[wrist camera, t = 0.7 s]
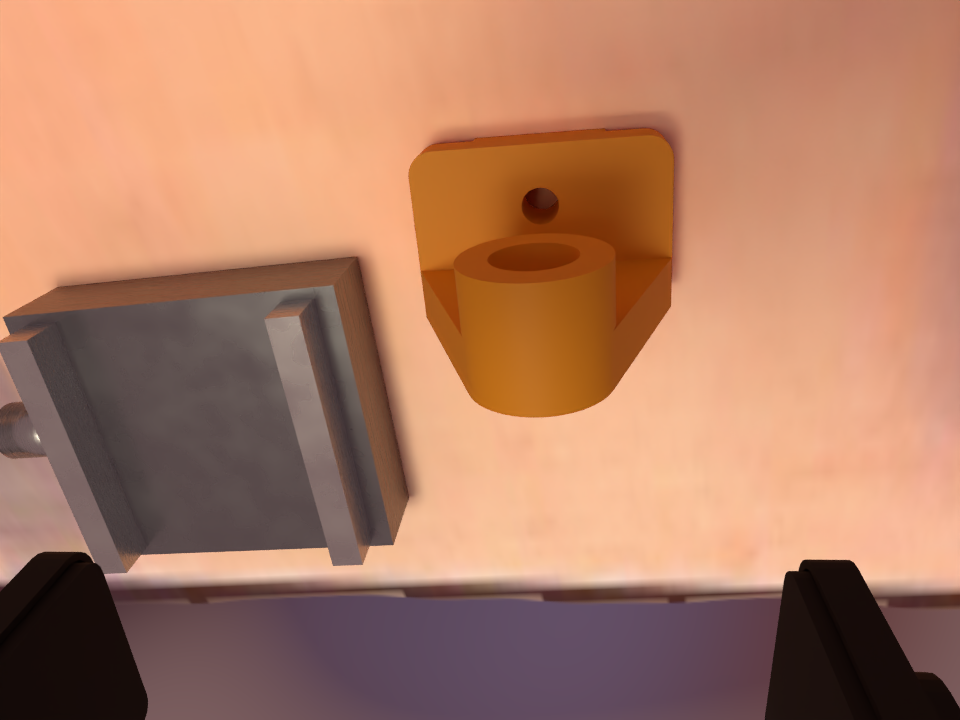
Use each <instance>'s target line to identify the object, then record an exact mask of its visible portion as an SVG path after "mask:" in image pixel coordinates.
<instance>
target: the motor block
mask: <svg viewBox="0 0 960 720" xmlns="http://www.w3.org/2000/svg"><path fill="white" fill-rule="evenodd" d="M3 319H4V321H5V323H6V326H7V328H8V330H9V333H10V335H9V336H7V337H6V338H4V339H2V340H1V341H0V353H1V355H2V357H3V359H4V362H5V364H6V366H7V368H8V371H9V373H10V375H11V377H12V379H13V382H14V384H15V386H16V388H17V391H18V393H19V395H20V397H21V399H22V402H12V403H9V404H6V405H5V406H3V407H2V408H1V409H0V452H1V453H2V454H3V455H4V456H6V457H8V458H12V459H18V458H34V457H48V459H49V462H50V464H51V466H52V468H53V470H54V473H55V475H56V477H57V479H58V482H59V484H60V486H61V488H62V490H63V493H64V495H65V497H66V499H67V502H68V504H69V506H70V508H71V510H72V513H73V515H74V517H75V519H76V521H77V524H78V526H79V528H80V530H81V533H82V535H83V537H84V539H85V541H86V544H87V546H88V548H89V550H90V553H91V555H92V557H93V559H94V561H95V563H97V564H98V565H99V566H100V567H101V569H102V571H103V573H104V574H110V573H127V572H128V571H129V569H130V568H131V567H132V566H133V564H134V563H135V562H136V560H137V559H138V558H139V557H140V555H147V554H173V553H199V552H225V551H251V550H276V549H302V548H328V550H329V553H330V557H331V560H332V564H333V566H340V565H363V562H364V560H365V557H366V554H367V552H368V549H369V546H380V545H394V542H395V539H396V536H397V532H398V529H399V526H400V523H401V520H402V517H403V514H404V511H405V508H406V505H407V502H408V498H409V497H408V492H407V487H406V483H405V478H404V473H403V469H402V464H401V459H400V455H399V450H398V445H397V441H396V436H395V431H394V427H393V422H392V417H391V413H390V408H389V403H388V398H387V394H386V389H385V384H384V380H383V375H382V370H381V366H380V361H379V356H378V352H377V347H376V342H375V338H374V333H373V328H372V324H371V319H370V314H369V310H368V305H367V300H366V296H365V291H364V286H363V282H362V277H361V272H360V268H359V263H358V258H357V257H350V258H341V259H331V260H321V261H311V262H302V263H292V264H282V265H272V266H262V267H253V268H243V269H233V270H223V271H214V272H204V273H194V274H184V275H174V276H165V277H155V278H145V279H135V280H126V281H116V282H106V283H96V284H86V285H77V286H67V287H57V288H55V289H53V290H51V291H50V292H48V293H46V294H44V295H42V296H40V297H39V298H37V299H35V300H33V301H31V302H30V303H28V304H26V305H24V306H22V307H20V308H19V309H17V310H15V311H13V312H11V313H10V314H8V315H6V316H4V317H3Z"/></svg>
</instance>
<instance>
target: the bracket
mask: <svg viewBox="0 0 960 720" xmlns="http://www.w3.org/2000/svg"><path fill="white" fill-rule="evenodd" d="M409 184H410V192H411V200H412V208H413V215H414V223H415V231H416V238H417V246H418V254H419V261H420V269H421V277H422V285H423V292H424V300H425V308H426V315H427V318H428V320H429V322H430V324H431V326H432V328H433V329H434V331H435V333H436V335H437V337H438V338H439V340H440V342H441V344H442V346H443V348H444V349H445V351H446V353H447V355H448V357H449V359H450V360H451V362H452V364H453V366H454V368H455V370H456V371H457V373H458V375H459V377H460V379H461V381H462V382H463V384H464V386H465V388H466V390H467V391H468V393H469V395H470V396H471V398H472V399H473V400H474V401H475V402H476V403H478V404H479V405H481V406H483V407H484V408H486V409H489V410H491V411H494V412H497V413H501V414H505V415H511V416H518V417H551V416H559V415H565V414H570V413H574V412H577V411H581V410H584V409H586V408H589V407H591V406H593V405H595V404H597V403H599V402H601V401H602V400H604V399H605V398H606V397H608V396H609V395H610V394H611V392H612V391H613V390H614V389H615V387H616V386H617V384H618V383H619V381H620V380H621V378H622V377H623V375H624V374H625V372H626V371H627V370H628V368H629V367H630V365H631V364H632V362H633V361H634V359H635V358H636V356H637V355H638V354H639V352H640V351H641V349H642V348H643V346H644V345H645V343H646V342H647V340H648V339H649V338H650V336H651V335H652V333H653V332H654V330H655V329H656V327H657V326H658V324H659V323H660V321H661V320H662V319H663V317H664V316H665V314H666V313H667V311H668V310H669V308H670V307H671V279H672V233H673V187H674V154H673V151H672V149H671V147H670V145H669V144H668V142H667V141H666V140H665V138H664V137H663V136H662V135H661V134H660V133H659V132H657V131H656V130H653V129H649V128H640V129H626V130H613V131H605V128H603V129H590V130H576V131H563V132H550V133H537V134H524V135H511V136H498V137H485V138H475V139H474V141H468V142H455V143H442V144H434V145H431V146H429V147H427V148H426V149H424V150H423V151H422V152H421V153H420V154H419V155H418V156H417V157H416V158H415V159H414V161H413V162H412V164H411V166H410V169H409ZM535 188H546V189H549V190H550V191H552V192H553V193H554V194H555V195H556V197H557V199H558V200H557V202H556V203H555V204H554V205H553V206H551V207H550V208H547V209H537V208H535V207H533V206H531V205H530V204H529V203H528V201H527V199H526V197H525V195H526V194H527V193H528V192H529V191H530V190H532V189H535Z"/></svg>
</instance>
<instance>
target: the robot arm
mask: <svg viewBox="0 0 960 720" xmlns="http://www.w3.org/2000/svg"><path fill="white" fill-rule="evenodd" d="M147 708H148V698H147V694H146V691H145V688H144V686H143V683H142V680H141V678H140V674H139V672H138V669H137V666H136V663H135V660H134V658H133V655H132V652H131V649H130V646H129V644H128V641H127V638H126V635H125V632H124V630H123V627H122V624H121V621H120V618H119V616H118V613H117V610H116V607H115V604H114V601H113V599H112V596H111V593H110V590H109V587H108V585H107V582H106V579H105V576H104V573H103V571H102V569H101V567H100V566H99V565H98V564H97V563H93V561H92V559H91V558H90V556H89V555H87V554H86V553H82V552H42V553H39V554H37V555H36V556H35V557H34V558H32V559H31V560H30V561H29V562H28V563H27V564H26V565H25V566H24V568H23V569H22V570H21V571H20V572H19V573H18V574H17V575H16V576H15V577H14V578H13V579H12V580H11V581H10V582H9V583H8V584H7V585H6V586H5V587H4V588H3V589H2V590H1V592H0V720H145V717H146V714H147ZM765 720H960V708H959V706H958V705H957V703H956V701H955V699H954V698H953V696H952V694H951V692H950V691H949V690H948V688H947V687H946V685H945V684H944V683H943V681H942V680H941V679H940V678H938V677H937V676H936V675H935V674H933V673H928V672H914V671H913V669H912V667H911V665H910V663H909V661H908V660H907V658H906V656H905V654H904V652H903V650H902V648H901V647H900V645H899V643H898V641H897V639H896V637H895V636H894V634H893V632H892V630H891V628H890V626H889V625H888V623H887V621H886V619H885V617H884V616H883V614H882V612H881V610H880V608H879V606H878V604H877V603H876V601H875V599H874V597H873V595H872V593H871V592H870V590H869V588H868V586H867V584H866V582H865V580H864V579H863V577H862V575H861V573H860V571H859V569H858V568H857V566H856V565H855V564H854V562H852V561H850V560H803V561H802V562H801V564H800V567H799V571H788V572H787V573H786V575H785V579H784V585H783V592H782V599H781V606H780V614H779V621H778V628H777V635H776V642H775V650H774V657H773V664H772V671H771V678H770V686H769V692H768V699H767V706H766V713H765Z"/></svg>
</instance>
